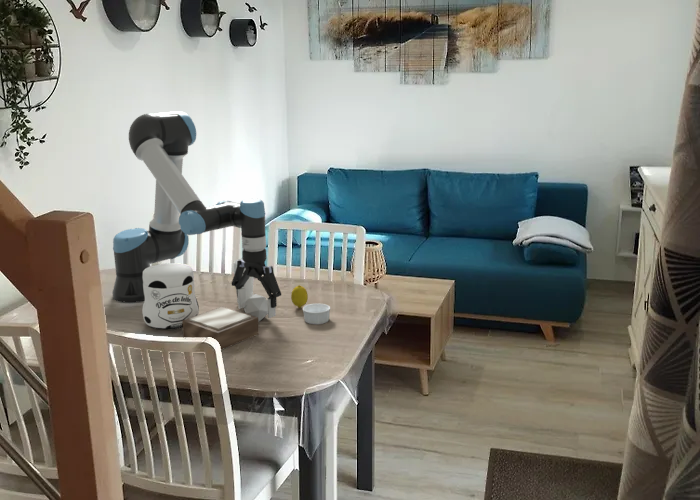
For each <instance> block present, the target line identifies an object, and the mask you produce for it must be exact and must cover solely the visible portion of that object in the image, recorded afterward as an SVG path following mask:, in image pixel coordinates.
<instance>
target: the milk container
mask: <svg viewBox="0 0 700 500" xmlns="http://www.w3.org/2000/svg"><path fill="white" fill-rule="evenodd" d="M194 275H195V274H194V269H193V267H192V266H191V265H189V264H186V263H178V262H171V263H170V262H169V263H167V262H166V263H158V264H155V265H154V264H153V265H152V266H151V265H150V267H148V268H146V269H145V270H144V271H143V290H144V301H143V303H142V308H141V309H142V311H141V312H142V318H143V321H144V323H145V325H147V326H148V327H150V328H151V329H155V330H162V331H169V330H170V331H171V330H173V331H174V330H178V329H183V323H182V321H183V320H185V319H188V318H191V317H194V316H197V315H199V313H200V309H199V307H200V306H199V302H198V299H197V296H196V291H195V276H194Z"/></svg>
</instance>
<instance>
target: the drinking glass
mask: <svg viewBox="0 0 700 500" xmlns="http://www.w3.org/2000/svg"><path fill="white" fill-rule="evenodd" d="M242 259H243V258H237V259H235V260H234V261H233V275H234V274H235V272H236V269H237V261H239V260H242ZM245 270H246V269H244V271H245ZM244 271H243V273H244ZM242 276H243V274H242ZM254 279H255V278H254V277H249V279H248V280H247V282H246V283H245V285H244V287H242V288H245V293H246V301H247V300H248V299H249V298H250V297H251V296H252V295H254V282H255V280H254ZM235 290H236V292H235V293H237V289H236V288H235ZM236 301H237V302H236V303H238V298H237V297H236Z"/></svg>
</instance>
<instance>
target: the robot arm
mask: <svg viewBox="0 0 700 500" xmlns="http://www.w3.org/2000/svg"><path fill="white" fill-rule="evenodd" d="M196 139H197V130H196V125H195V123H194V121H193V119H192V118H191V117H190V115H189V114H188V113H186V112H184V111H167V112H156V113H155V112H154V113H144V114H142V115H139V116H138V117H136V118H135V119H134V120H133V122H132V123H131V124H130V127H129V130H128V142H129V143H128V144H129V146H130V149H131V151H132V153H133V154H134V156H135V157H136V158H137V160H139V161H143V163H144V164H145V166H146V167H147V169H148V170H149V172H150V173H151V174H152V176H153V178H155V193H154V195H155V196H154V211H153V212H154V215H153V218H152V219H151V220H150V221H149V224H148V225H149V226H148V230H147V229H145V228H141V227H134V228H128V229H124V230H122V231H120V232H118V233H117V234H115V235H114V236H113V239H112V243H113V244H112V251H113V256H114V266H115V279H114V280H115V281H114V284H113V285H114V286H113V289H112V299H113V300H114V301H115V302H118V303H123V304H124V303H125V304H131V303H132V304H133V303H142V302H144V290H143V271H144V270H145V269H146V268H148V267H150V266H151V264H152V265H153V264H156V263H158V262H163V261H167V260H168V261H169V260H173V259H175V258H178V257H181V256H183V255H184V254H185V253H186V251H187V249H188V247H189V239H190V238H189V236H193V235H201V234H203V233H208V232H211V231H217V230H222V229H226V228H231V227H234V228H239V229H240V230H241V248H242V251H241V252H242V253H241V254H242V258H241V259H242V260H239V261H237V269H236V272H235V274H234V273H233V277H232V280H231V286H232V287H233V286H234V288H235V290H236V289H237V292H236V299H237V298H238V302H237V304H238V305H237V306H238V310H239V309H240V310H241V309H244V307H243V303H244V302H245V301H246V293H245V288H242V287H244V285H245V283H246V282H247V280H248V279H249V277H254V279H257V280H258V281H259V282H260V284H261V285H262V287H263V288H264V291H265V292H266V294H267V296H268V297H266V300H267V303H268V314H267V318H268V319H271V318H274V317H276V316H277V313H276V311H277V310H276V308H277V298H278V297H281V296H282V292H281V290H280V287H279V283H278V282H277V279H276V276H275V273H274V267H273V266H272V265H270V266H266V261H267V249H266V247H267V240H266V239H267V238H266V234H267V233H266V210H265V209H266V208H265V202H264V200H261V199H258V198H247V199H243V200H241V201H240V203H239V202H234V201H231V200H227V201H226V200H221V201H218V202H217V204H215V205H212V206H210V205H209V206H205V204H204V203H203V201H201V199H200V198H199V196H198V195H197V193H195V191H194V189H193V188H192V186H190V185H191V184H189V182H188V181H187V180H186V178H185V177H184V175H183V165H184V164H183V160H184V159H183V158H184V157H186V156H187V155H188V153H189V146H192V145H194V143H195V142H196ZM244 269H246V270H245V271H244ZM243 271H244V273H243ZM242 274H243V276H242Z"/></svg>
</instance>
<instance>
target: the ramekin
mask: <svg viewBox="0 0 700 500" xmlns="http://www.w3.org/2000/svg"><path fill="white" fill-rule="evenodd" d="M302 311H303V318H304V322H305V323H307V324H309V325H323V324H325V323H328V322H329V320H330V312H331V306H330V305H328V304H326V303H319V302H317V303H308V304H305V305H304V306H302Z"/></svg>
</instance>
